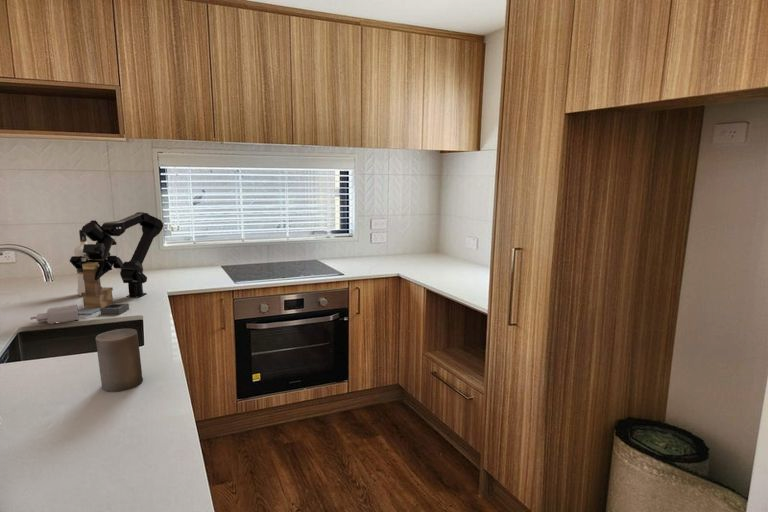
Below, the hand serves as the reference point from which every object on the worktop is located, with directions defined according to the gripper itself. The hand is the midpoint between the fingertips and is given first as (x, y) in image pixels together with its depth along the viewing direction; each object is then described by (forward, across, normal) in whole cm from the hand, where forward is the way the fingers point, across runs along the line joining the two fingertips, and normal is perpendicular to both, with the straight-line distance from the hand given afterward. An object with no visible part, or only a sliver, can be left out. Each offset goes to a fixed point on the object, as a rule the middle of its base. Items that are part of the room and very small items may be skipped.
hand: (90, 279), depth 194 cm
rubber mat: (+8, -3, +11) cm, 14 cm away
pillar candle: (+58, +46, -39) cm, 84 cm away
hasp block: (+9, +8, +10) cm, 16 cm away
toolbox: (+2, -4, +18) cm, 18 cm away
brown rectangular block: (+4, 0, +6) cm, 7 cm away
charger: (+17, -9, +3) cm, 19 cm away
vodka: (-13, -20, +33) cm, 40 cm away
